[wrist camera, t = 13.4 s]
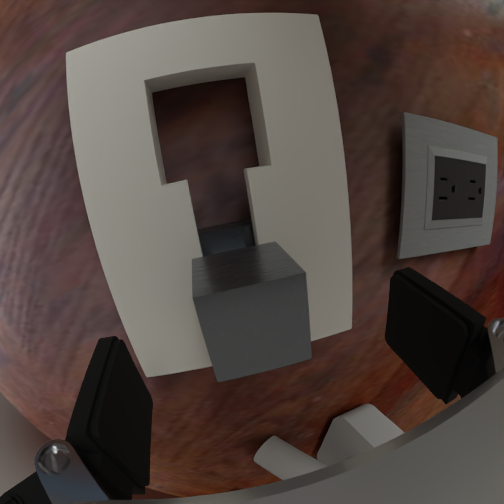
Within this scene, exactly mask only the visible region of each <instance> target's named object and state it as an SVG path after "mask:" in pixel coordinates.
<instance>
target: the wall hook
mask: <svg viewBox="0 0 504 504" xmlns="http://www.w3.org/2000/svg"><path fill="white" fill-rule="evenodd" d="M403 433H404V432H403V431H402V430H401V429H399V428H398V427H397V426H396V425H395V424H394V423H393V422H391V421H390V420H389V419H388V418H387V417H386V416H385V415H384V414H382V413H381V412H380V411H379V410H378V409H377V408H376V407H374V406H373V405H371V404H363V405H361V406H359V407H357V408H355V409H353V410H351V411H349V412H347V413H344V414H342V415H340V416H338V417H336V418H334V419H333V421H332V423H331V425H330V427H329V430H328V432H327V434H326V436H325V438H324V441H323V443H322V445H321V447H320V449H319V451H318V453H317V460H316V459H314V458H313V457H311V456H309V455H307V454H305V453H304V452H302V451H300V450H298V449H297V448H295V447H293V446H292V445H290V444H288V443H287V442H285V441H283V440H282V439H280V438H278V437H277V436H272V437H271V438H269V439H268V440H267V441H266V442H265V443H264V444H263V445H262V446H261V447H260V448H259V450H258V451H257V453H256V454H255V457H254V462H256V463H257V464H259V465H260V466H262V467H263V468H265V469H266V470H268V471H269V472H271V473H272V474H274V475H275V476H277V477H279V478H280V479H282V480H286V479H289V478H293V477H296V476H300V475H303V474H306V473H310V472H313V471H316V470H319V469H322V468H325V467H328V466H330V465H333V464H336V463H339V462H341V461H344V460H346V459H349V458H351V457H354V456H356V455H359V454H361V453H364V452H366V451H368V450H370V449H373V448H375V447H377V446H379V445H381V444H383V443H386V442H388V441H390V440H392V439H394V438H396V437H398V436H400V435H402V434H403Z"/></svg>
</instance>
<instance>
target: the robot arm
mask: <svg viewBox="0 0 504 504" xmlns="http://www.w3.org/2000/svg"><path fill="white" fill-rule="evenodd" d="M485 320H486V317H484V316H483V315H481V314H480V313H478V312H477V311H476V310H474V309H473V308H471V307H470V306H468V305H467V304H465V303H464V302H462V301H461V300H460V299H458V298H457V297H455V296H454V295H452V294H451V293H449V292H448V291H446V290H445V289H443V288H441V287H440V286H438V285H437V284H435V283H434V282H432V281H431V280H429V279H428V278H426V277H424V276H423V275H421V274H420V273H418V272H416V271H415V270H413V269H412V268H409V267H407V268H404V269H400V270H397V271H395V272H394V274H393V276H392V277H391V279H390V291H389V303H388V314H387V323H386V331H385V340H386V342H387V344H388V345H389V346H390V347H391V349H392V350H393V351H394V352H395V353H396V354H397V355H398V356H399V357H400V358H401V359H402V360H403V361H404V363H405V364H406V365H407V366H408V367H409V368H410V369H411V370H412V371H413V372H414V373H415V375H416V376H417V377H418V378H419V379H420V380H421V381H422V382H423V383H424V384H425V386H426V387H427V388H428V389H429V390H430V391H431V392H432V393H433V394H434V396H435V397H436V398H438V399H442V401H443V402H444V403H445V404H447V403H449V402H450V401H452V400H453V399H455V398H456V397H457V395H458V394H459V395H460V396H461V399H460V400H459V401H457V402H456V403H454V404H453V405H451V406H450V407H448V408H447V409H445V410H444V411H442V412H440V413H439V414H437V415H435V416H434V417H432V418H430V419H429V420H427V421H425V422H424V423H422V424H420V425H418V426H417V427H415V428H413V429H411V430H409V431H407V432H405V433H403V434H402V435H400V436H398V437H396V438H394V439H392V440H390V441H388V442H386V443H383V444H381V445H379V446H377V447H375V448H373V449H370V450H368V451H366V452H364V453H361V454H359V455H356V456H354V457H351V458H349V459H346V460H344V461H341V462H339V463H336V464H333V465H330V466H328V467H325V468H322V469H319V470H316V471H313V472H310V473H306V474H303V475H300V476H296V477H293V478H289V479H286V480H282V481H278V482H274V483H270V484H266V485H262V486H257V487H252V488H247V489H242V490H237V491H231V492H225V493H218V494H211V495H202V496H193V497H183V498H170V499H149V500H132V494H145V486H148V485H149V482H150V445H151V425H152V409H153V402H152V398H151V395H150V393H149V391H148V389H147V388H146V386H145V384H144V382H143V380H142V378H141V376H140V374H139V372H138V370H137V368H136V366H135V364H134V362H133V360H132V358H131V356H130V353H129V351H128V349H127V347H126V345H125V343H124V341H123V340H119V339H118V338H117V337H116V336H112V337H106V338H100V339H99V340H98V343H97V345H96V348H95V350H94V353H93V356H92V358H91V361H90V363H89V366H88V369H87V372H86V374H85V377H84V380H83V383H82V386H81V389H80V392H79V395H78V398H77V401H76V404H75V407H74V410H73V413H72V417H71V420H70V423H69V427H68V430H67V436H66V439H65V440H61V439H54V440H51V441H48V442H46V443H44V444H43V445H42V446H41V447H40V448H39V449H38V451H37V453H36V455H35V459H34V465H35V469H36V472H35V473H33V474H32V475H30V476H29V477H27V478H26V479H25V480H23V481H22V482H20V483H19V484H17V485H16V486H14V487H13V488H11V489H10V490H8V491H7V492H5V493H4V494H3V495H2V496H1V497H0V504H504V318H496V319H494V320H492V321H490V322H489V324H488V326H487V328H485V327H484V323H485Z"/></svg>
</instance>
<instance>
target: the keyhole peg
mask: <svg viewBox="0 0 504 504" xmlns="http://www.w3.org/2000/svg"><path fill="white" fill-rule="evenodd" d="M197 230H198V235H199V240H200V244H201V249H202V254H203V257H199V258H194V259H192V298H193V302H194V305H195V309H196V313H197V316H198V320H199V323H200V327H201V330H202V334H203V337H204V340H205V344H206V347H207V350H208V354H209V357H210V360H211V363H212V366H213V370H214V373H215V376H216V379H217V382H222V381H227V380H231V379H236V378H240V377H245V376H249V375H253V374H257V373H261V372H265V371H269V370H273V369H277V368H280V367H284V366H288V365H291V364H295V363H298V362H301V361H305V360H308V359H311V358H312V352H311V334H310V319H309V304H308V291H307V279H306V272H305V271H304V270H303V269H302V268H301V267H300V266H299V265H298V264H297V263H296V262H295V261H294V260H293V259H292V258H291V257H290V256H289V255H288V254H287V253H286V252H285V251H284V250H283V248H282V247H281V246H280V245H279V244H278V243H277V242H276V241H275V242H270V243H265V244H260V245H255V238H254V232H253V226H252V219H246V220H241V221H236V222H231V223H226V224H221V225H216V226H212V227H207V228H202V229H197Z"/></svg>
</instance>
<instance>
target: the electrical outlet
mask: <svg viewBox="0 0 504 504" xmlns="http://www.w3.org/2000/svg"><path fill="white" fill-rule="evenodd" d="M401 114H402V193H401V212H400V226H399V237H398V247H397V258H398V259H404V258H410V257H417V256H423V255H429V254H435V253H441V252H447V251H453V250H459V249H465V248H471V247H477V246H482V245H488V244H490V241H491V234H492V227H493V219H494V211H495V200H496V187H497V159H498V149H497V138H496V137H493V136H490V135H487V134H484V133H481V132H478V131H475V130H472V129H469V128H466V127H462V126H459V125H455V124H452V123H448V122H445V121H441V120H437V119H433V118H429V117H425V116H420V115H416V114H411V113H407V112H401Z"/></svg>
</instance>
